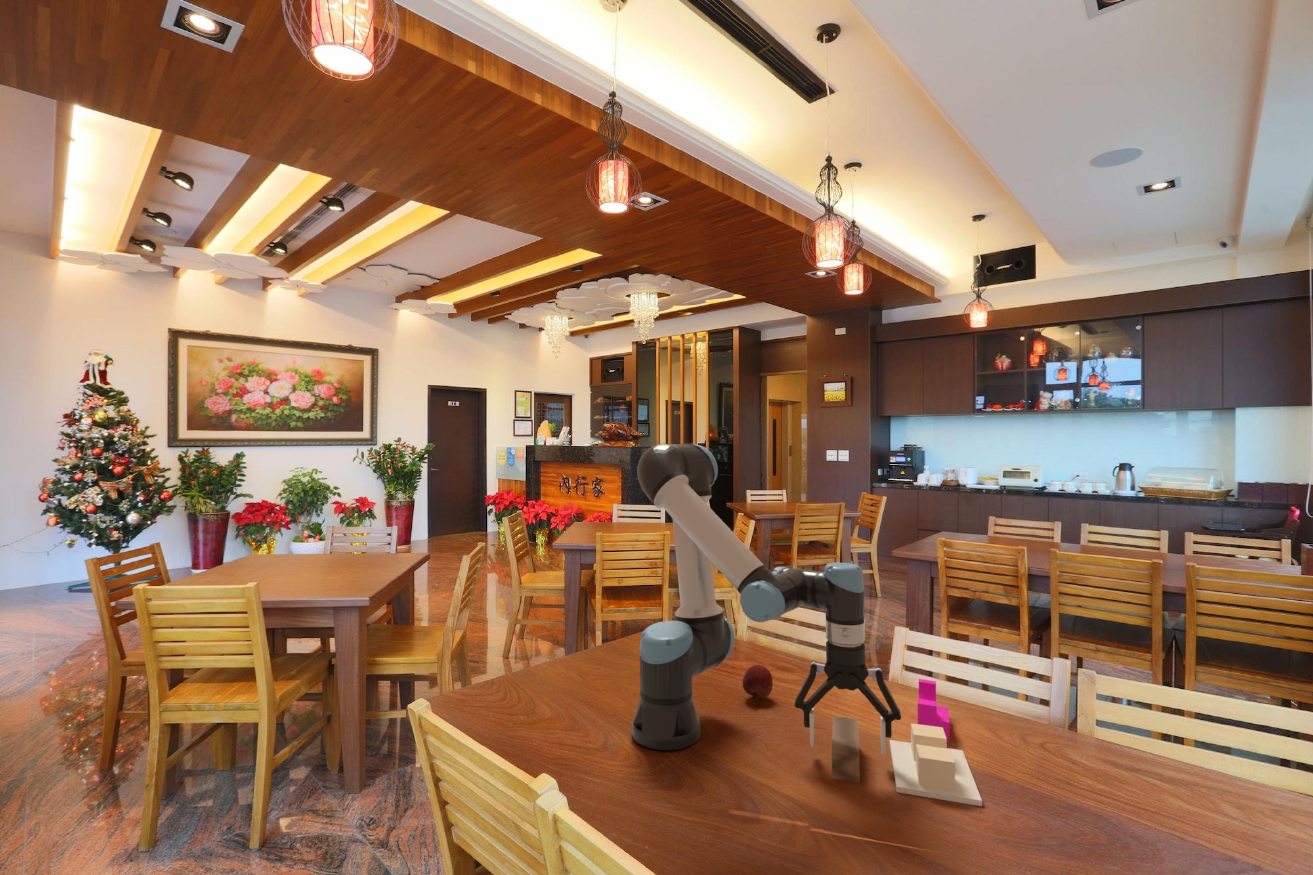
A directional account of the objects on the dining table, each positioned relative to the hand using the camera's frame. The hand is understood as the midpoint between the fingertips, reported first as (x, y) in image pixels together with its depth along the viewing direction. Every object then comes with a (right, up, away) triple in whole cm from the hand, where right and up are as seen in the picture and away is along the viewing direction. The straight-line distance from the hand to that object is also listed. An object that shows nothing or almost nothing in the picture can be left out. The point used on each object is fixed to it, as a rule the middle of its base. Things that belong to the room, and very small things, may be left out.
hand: (847, 748), depth 119 cm
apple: (-13, -3, +30) cm, 33 cm away
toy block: (+25, -4, +16) cm, 30 cm away
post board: (+15, -3, -4) cm, 16 cm away
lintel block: (0, -3, 0) cm, 3 cm away
